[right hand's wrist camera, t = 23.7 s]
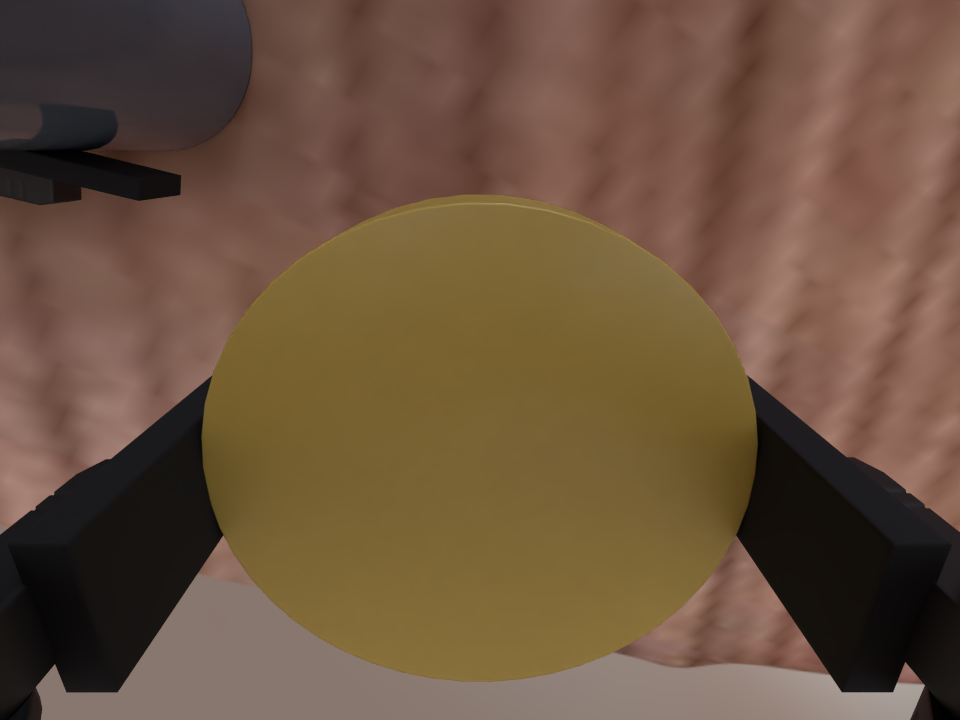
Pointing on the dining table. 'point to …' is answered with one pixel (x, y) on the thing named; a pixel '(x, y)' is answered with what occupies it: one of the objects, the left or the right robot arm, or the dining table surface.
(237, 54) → the jar
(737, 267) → the dining table surface
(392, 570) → the lid
